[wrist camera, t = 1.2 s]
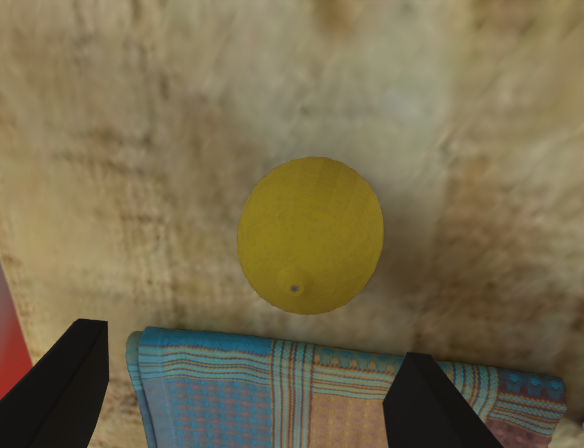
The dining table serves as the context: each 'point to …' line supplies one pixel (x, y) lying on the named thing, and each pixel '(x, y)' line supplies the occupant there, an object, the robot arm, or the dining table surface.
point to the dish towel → (308, 393)
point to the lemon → (310, 235)
